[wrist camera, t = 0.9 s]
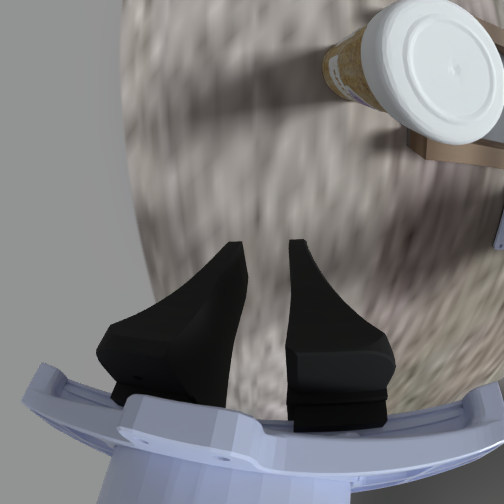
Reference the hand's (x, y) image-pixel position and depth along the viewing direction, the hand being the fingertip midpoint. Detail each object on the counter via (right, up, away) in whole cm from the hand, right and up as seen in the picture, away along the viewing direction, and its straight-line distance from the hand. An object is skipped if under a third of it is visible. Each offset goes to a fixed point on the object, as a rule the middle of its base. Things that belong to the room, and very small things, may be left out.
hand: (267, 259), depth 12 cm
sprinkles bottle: (+6, +13, +3) cm, 15 cm away
